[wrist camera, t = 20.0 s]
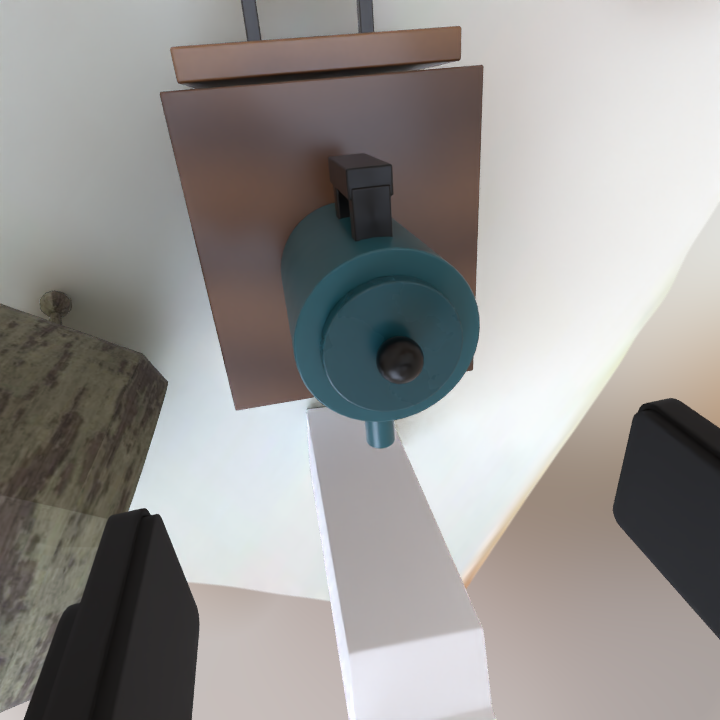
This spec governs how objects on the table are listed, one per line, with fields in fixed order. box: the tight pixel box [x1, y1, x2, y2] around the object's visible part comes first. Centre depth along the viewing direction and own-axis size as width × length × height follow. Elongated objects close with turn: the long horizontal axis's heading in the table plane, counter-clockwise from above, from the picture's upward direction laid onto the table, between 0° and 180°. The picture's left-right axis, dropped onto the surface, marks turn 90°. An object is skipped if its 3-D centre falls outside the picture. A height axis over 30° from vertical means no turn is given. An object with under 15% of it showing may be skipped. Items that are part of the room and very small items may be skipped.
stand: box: [160, 65, 483, 410], centre depth 26 cm, size 14×13×10 cm
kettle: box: [281, 153, 480, 449], centre depth 18 cm, size 11×6×10 cm, turn 5°
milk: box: [306, 407, 497, 720], centre depth 29 cm, size 6×6×22 cm
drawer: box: [170, 0, 461, 89], centre depth 24 cm, size 17×11×8 cm
